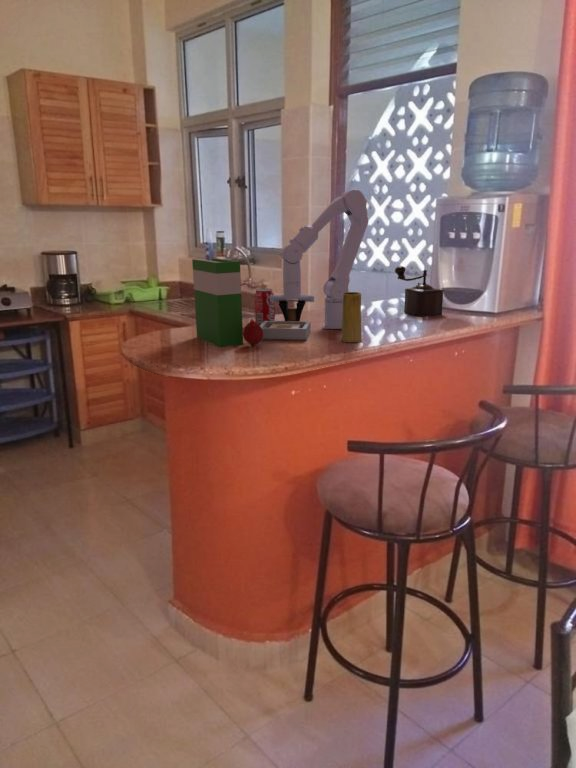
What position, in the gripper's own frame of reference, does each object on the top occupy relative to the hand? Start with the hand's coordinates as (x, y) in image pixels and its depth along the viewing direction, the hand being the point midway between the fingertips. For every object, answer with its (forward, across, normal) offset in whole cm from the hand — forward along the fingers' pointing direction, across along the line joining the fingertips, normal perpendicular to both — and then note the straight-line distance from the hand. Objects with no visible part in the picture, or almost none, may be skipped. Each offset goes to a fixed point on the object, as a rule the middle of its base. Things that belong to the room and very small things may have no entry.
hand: (292, 323), depth 188 cm
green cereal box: (+2, -20, -20) cm, 28 cm away
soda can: (+2, -11, +10) cm, 15 cm away
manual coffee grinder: (+2, +43, +32) cm, 54 cm away
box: (+2, -1, -12) cm, 12 cm away
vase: (+2, +20, -18) cm, 27 cm away
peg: (+2, 0, 0) cm, 2 cm away
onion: (+2, -8, -26) cm, 28 cm away
